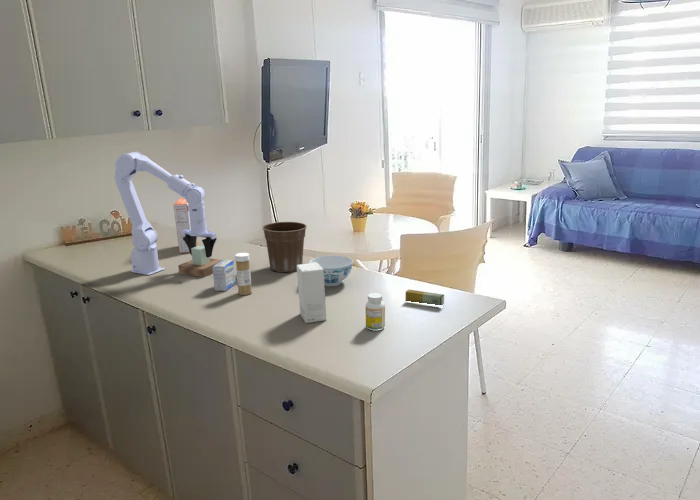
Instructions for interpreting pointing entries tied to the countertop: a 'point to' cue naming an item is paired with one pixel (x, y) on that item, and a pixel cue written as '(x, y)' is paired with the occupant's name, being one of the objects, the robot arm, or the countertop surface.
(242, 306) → the countertop surface
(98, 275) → the countertop surface
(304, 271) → the skincare box
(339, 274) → the chinaware
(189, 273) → the walnut block
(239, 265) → the sprinkles bottle
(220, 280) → the medicine box
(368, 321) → the supplement bottle
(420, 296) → the medication box
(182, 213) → the cracker box
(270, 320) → the countertop surface
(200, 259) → the sage block
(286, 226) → the plant pot
